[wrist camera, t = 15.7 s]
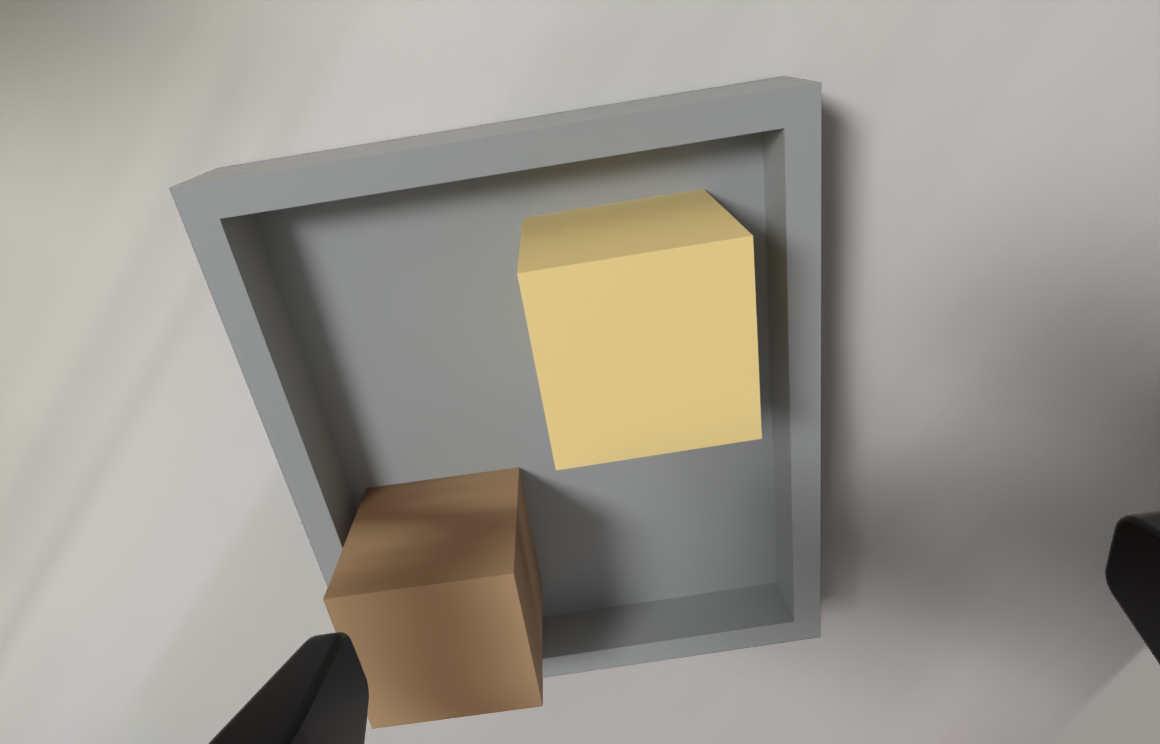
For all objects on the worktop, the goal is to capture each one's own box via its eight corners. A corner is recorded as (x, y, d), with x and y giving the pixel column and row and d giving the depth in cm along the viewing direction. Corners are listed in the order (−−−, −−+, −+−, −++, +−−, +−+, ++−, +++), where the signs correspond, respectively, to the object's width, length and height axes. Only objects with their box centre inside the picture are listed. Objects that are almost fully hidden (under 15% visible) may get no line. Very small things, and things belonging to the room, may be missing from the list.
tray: (389, 640, 24) (373, 702, 22) (217, 168, 17) (168, 187, 15) (794, 580, 24) (820, 636, 22) (784, 76, 17) (821, 82, 15)
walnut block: (403, 603, 22) (372, 728, 18) (366, 488, 21) (323, 599, 16) (542, 585, 22) (542, 706, 18) (518, 467, 21) (513, 573, 16)
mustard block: (553, 379, 19) (556, 470, 15) (522, 218, 17) (517, 273, 13) (715, 353, 19) (761, 438, 15) (703, 188, 17) (752, 235, 13)
